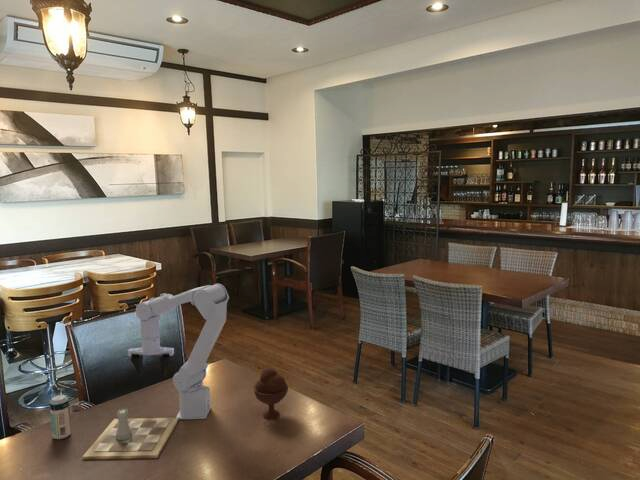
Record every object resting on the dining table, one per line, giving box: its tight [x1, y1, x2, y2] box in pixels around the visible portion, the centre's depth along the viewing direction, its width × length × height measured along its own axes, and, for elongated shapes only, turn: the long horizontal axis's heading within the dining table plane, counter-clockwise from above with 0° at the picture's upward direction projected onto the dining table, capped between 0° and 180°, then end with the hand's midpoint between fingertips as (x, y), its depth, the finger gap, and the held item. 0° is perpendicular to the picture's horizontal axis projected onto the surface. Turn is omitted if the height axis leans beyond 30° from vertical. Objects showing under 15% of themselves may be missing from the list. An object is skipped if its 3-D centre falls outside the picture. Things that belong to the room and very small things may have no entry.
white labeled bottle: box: [49, 393, 72, 440], centre depth 133 cm, size 5×5×12 cm
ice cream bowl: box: [253, 367, 289, 420], centre depth 144 cm, size 11×11×15 cm
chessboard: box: [82, 417, 180, 460], centre depth 132 cm, size 20×20×1 cm
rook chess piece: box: [116, 408, 132, 440], centre depth 131 cm, size 4×4×8 cm
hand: (152, 375), depth 151 cm, fingers open, 7 cm apart
